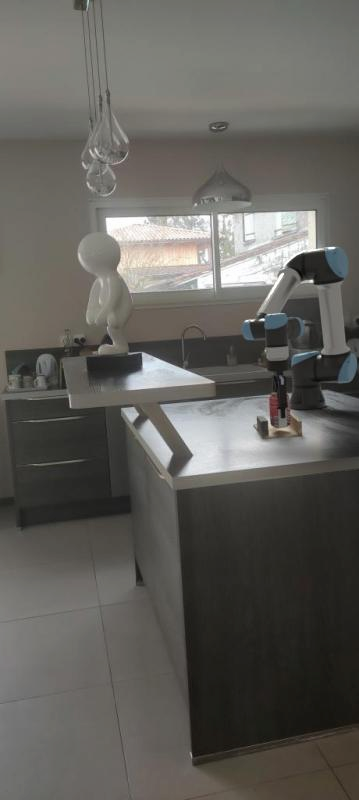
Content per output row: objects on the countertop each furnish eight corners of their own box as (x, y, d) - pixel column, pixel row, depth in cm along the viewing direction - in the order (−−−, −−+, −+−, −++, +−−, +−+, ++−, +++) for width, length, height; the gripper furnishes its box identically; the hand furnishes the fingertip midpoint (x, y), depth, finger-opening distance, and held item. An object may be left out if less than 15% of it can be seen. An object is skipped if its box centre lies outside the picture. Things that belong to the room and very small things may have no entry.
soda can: (290, 423, 204) (288, 390, 202) (292, 428, 197) (290, 393, 195) (269, 424, 205) (268, 391, 203) (271, 429, 198) (269, 394, 196)
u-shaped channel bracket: (289, 422, 217) (288, 408, 216) (302, 435, 196) (301, 419, 195) (253, 425, 217) (252, 411, 216) (262, 438, 195) (261, 422, 195)
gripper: (262, 357, 207) (265, 420, 211) (271, 362, 188) (275, 431, 191) (282, 355, 207) (286, 418, 211) (294, 361, 188) (297, 430, 191)
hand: (280, 424), depth 201 cm, fingers closed on soda can, 7 cm apart
